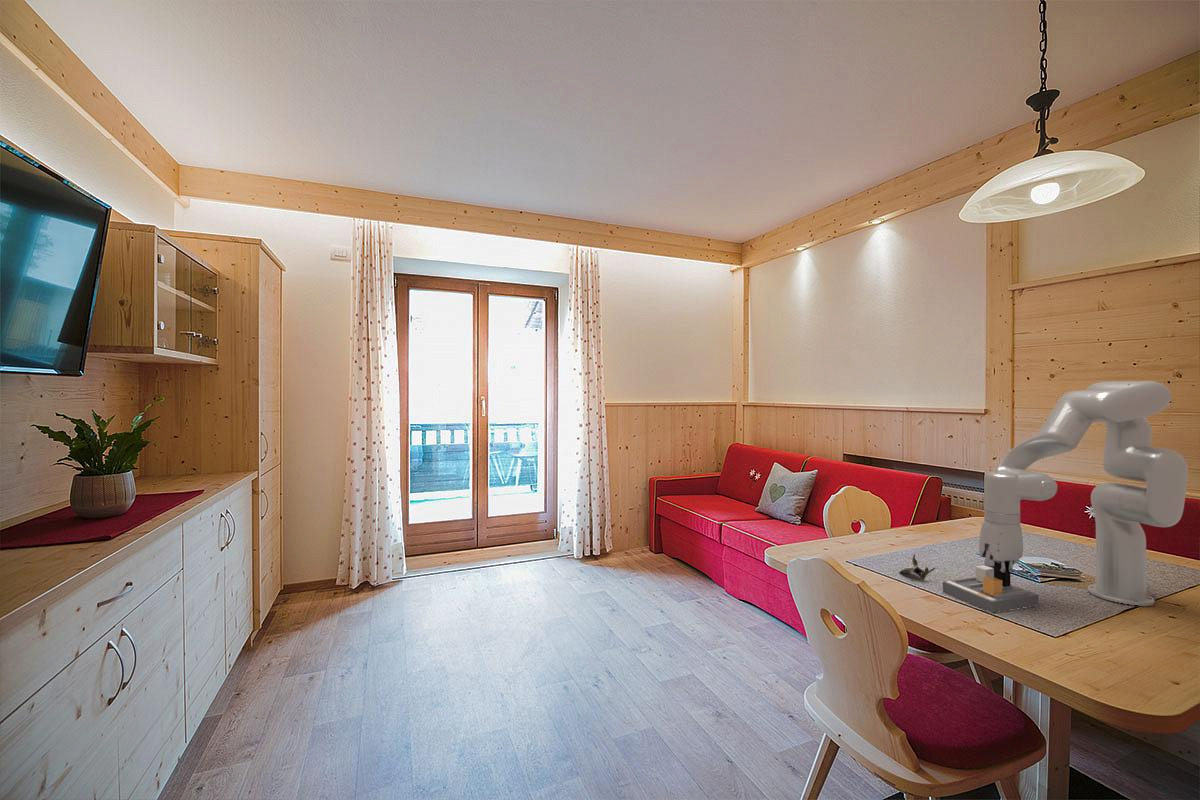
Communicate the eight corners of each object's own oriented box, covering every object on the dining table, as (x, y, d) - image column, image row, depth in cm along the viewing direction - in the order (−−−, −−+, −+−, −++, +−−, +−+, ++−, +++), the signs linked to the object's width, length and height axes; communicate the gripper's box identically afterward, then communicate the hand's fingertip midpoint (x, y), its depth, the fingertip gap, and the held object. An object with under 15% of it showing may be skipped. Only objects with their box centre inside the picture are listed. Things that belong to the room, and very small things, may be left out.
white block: (984, 578, 141) (983, 565, 141) (993, 582, 139) (993, 568, 139) (975, 580, 141) (975, 566, 141) (985, 583, 138) (985, 569, 138)
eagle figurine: (940, 577, 148) (918, 561, 157) (931, 560, 147) (909, 545, 156) (919, 590, 149) (898, 574, 157) (910, 574, 147) (889, 558, 156)
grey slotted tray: (986, 585, 144) (986, 573, 144) (1038, 605, 131) (1038, 591, 131) (942, 591, 140) (942, 578, 140) (992, 613, 127) (992, 598, 127)
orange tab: (991, 590, 133) (991, 576, 133) (1002, 595, 130) (1002, 580, 130) (983, 592, 132) (983, 577, 132) (993, 596, 130) (993, 581, 130)
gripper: (1008, 512, 137) (1008, 576, 138) (966, 516, 134) (966, 582, 134) (1038, 519, 130) (1038, 587, 130) (994, 523, 126) (994, 593, 127)
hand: (1002, 584), depth 132 cm, fingers closed
